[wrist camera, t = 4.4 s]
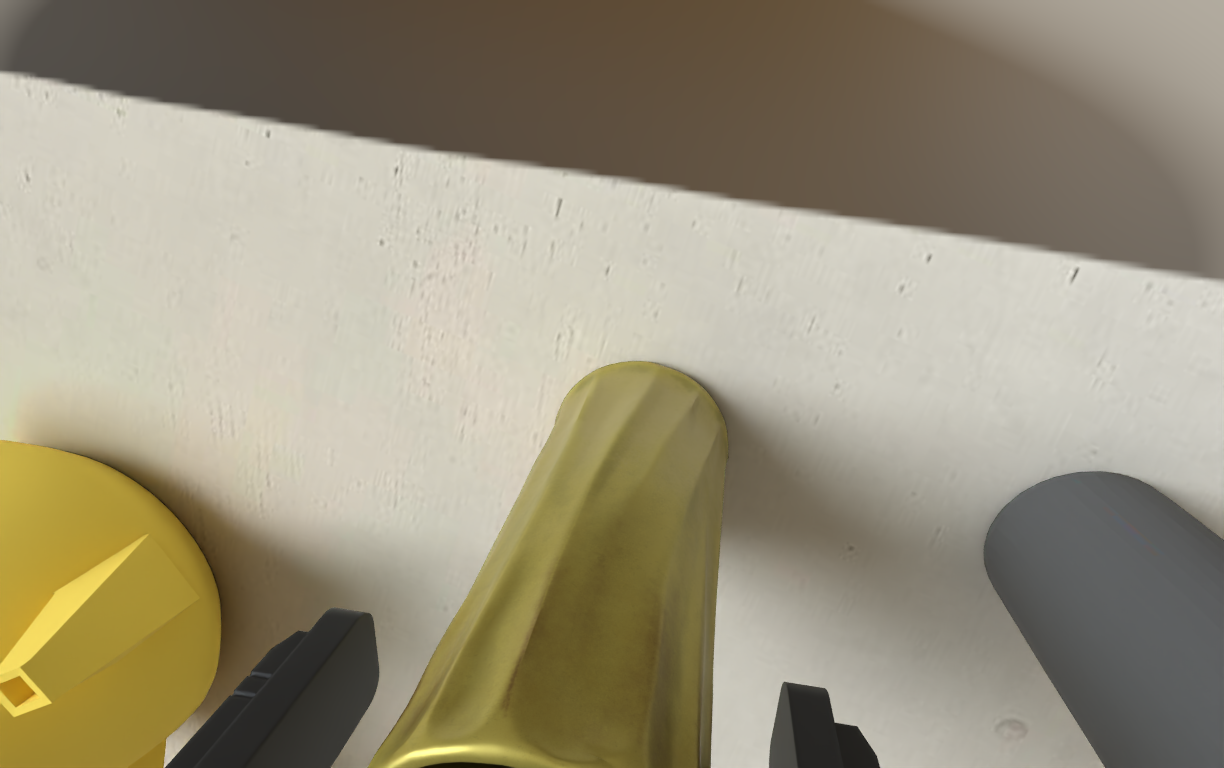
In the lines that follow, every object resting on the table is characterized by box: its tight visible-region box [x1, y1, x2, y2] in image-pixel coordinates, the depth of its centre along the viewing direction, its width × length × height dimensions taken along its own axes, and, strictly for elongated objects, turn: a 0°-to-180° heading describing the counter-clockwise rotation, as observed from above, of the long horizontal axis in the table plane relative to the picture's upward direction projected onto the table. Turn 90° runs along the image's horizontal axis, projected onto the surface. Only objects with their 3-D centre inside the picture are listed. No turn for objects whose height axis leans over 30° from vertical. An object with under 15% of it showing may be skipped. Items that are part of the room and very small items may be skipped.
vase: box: [368, 361, 729, 768], centre depth 15 cm, size 6×6×14 cm
